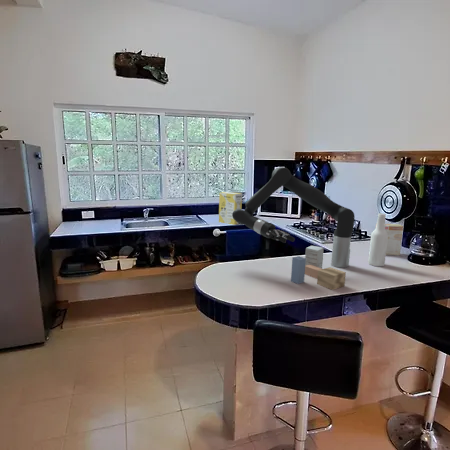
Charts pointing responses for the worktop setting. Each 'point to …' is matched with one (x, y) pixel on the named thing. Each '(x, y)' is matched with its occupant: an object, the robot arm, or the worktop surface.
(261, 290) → the worktop surface
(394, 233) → the coffeecake box
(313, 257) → the grey upright block
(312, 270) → the terracotta block
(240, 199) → the pasta box
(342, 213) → the robot arm
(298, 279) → the blue post block
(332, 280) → the oak base block
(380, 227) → the alcohol
